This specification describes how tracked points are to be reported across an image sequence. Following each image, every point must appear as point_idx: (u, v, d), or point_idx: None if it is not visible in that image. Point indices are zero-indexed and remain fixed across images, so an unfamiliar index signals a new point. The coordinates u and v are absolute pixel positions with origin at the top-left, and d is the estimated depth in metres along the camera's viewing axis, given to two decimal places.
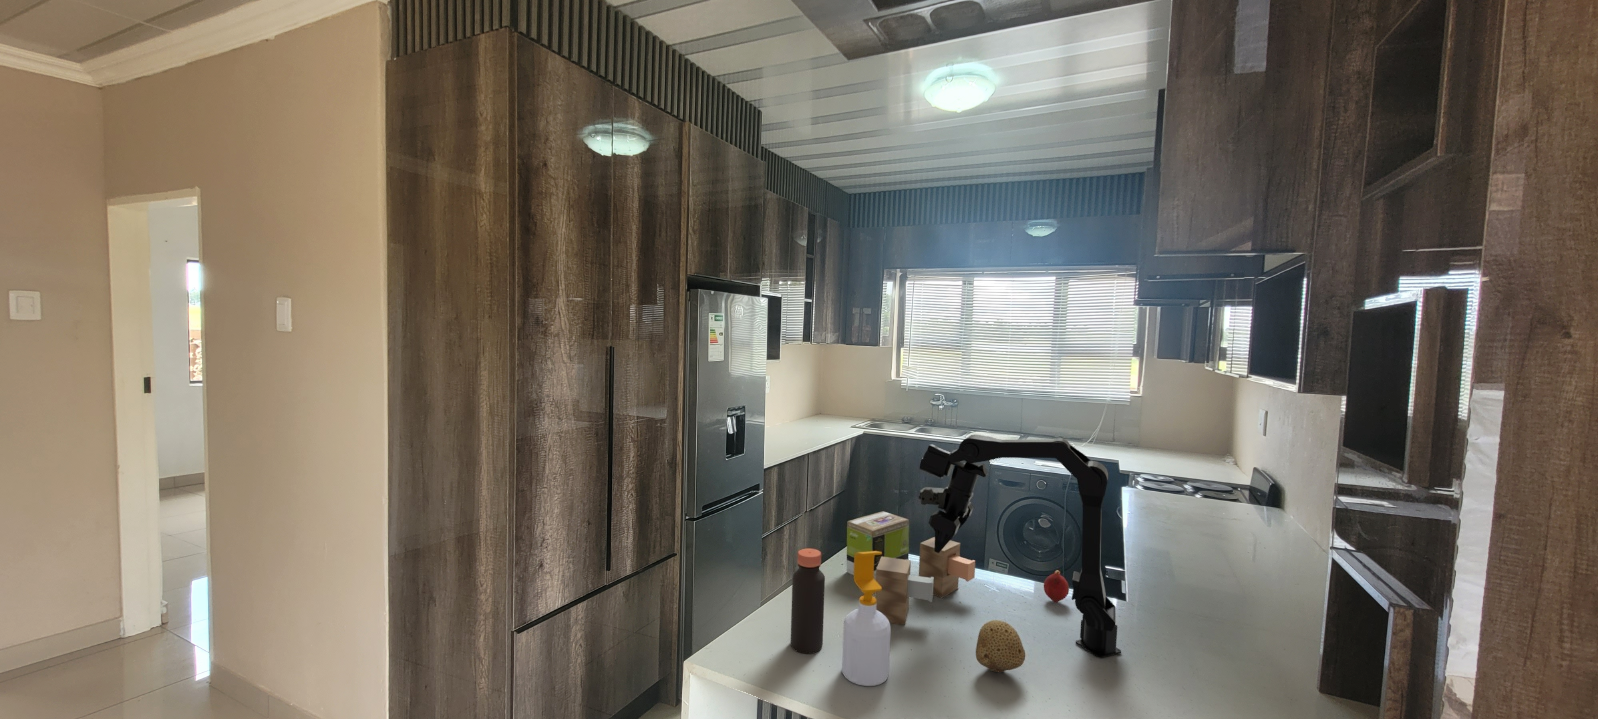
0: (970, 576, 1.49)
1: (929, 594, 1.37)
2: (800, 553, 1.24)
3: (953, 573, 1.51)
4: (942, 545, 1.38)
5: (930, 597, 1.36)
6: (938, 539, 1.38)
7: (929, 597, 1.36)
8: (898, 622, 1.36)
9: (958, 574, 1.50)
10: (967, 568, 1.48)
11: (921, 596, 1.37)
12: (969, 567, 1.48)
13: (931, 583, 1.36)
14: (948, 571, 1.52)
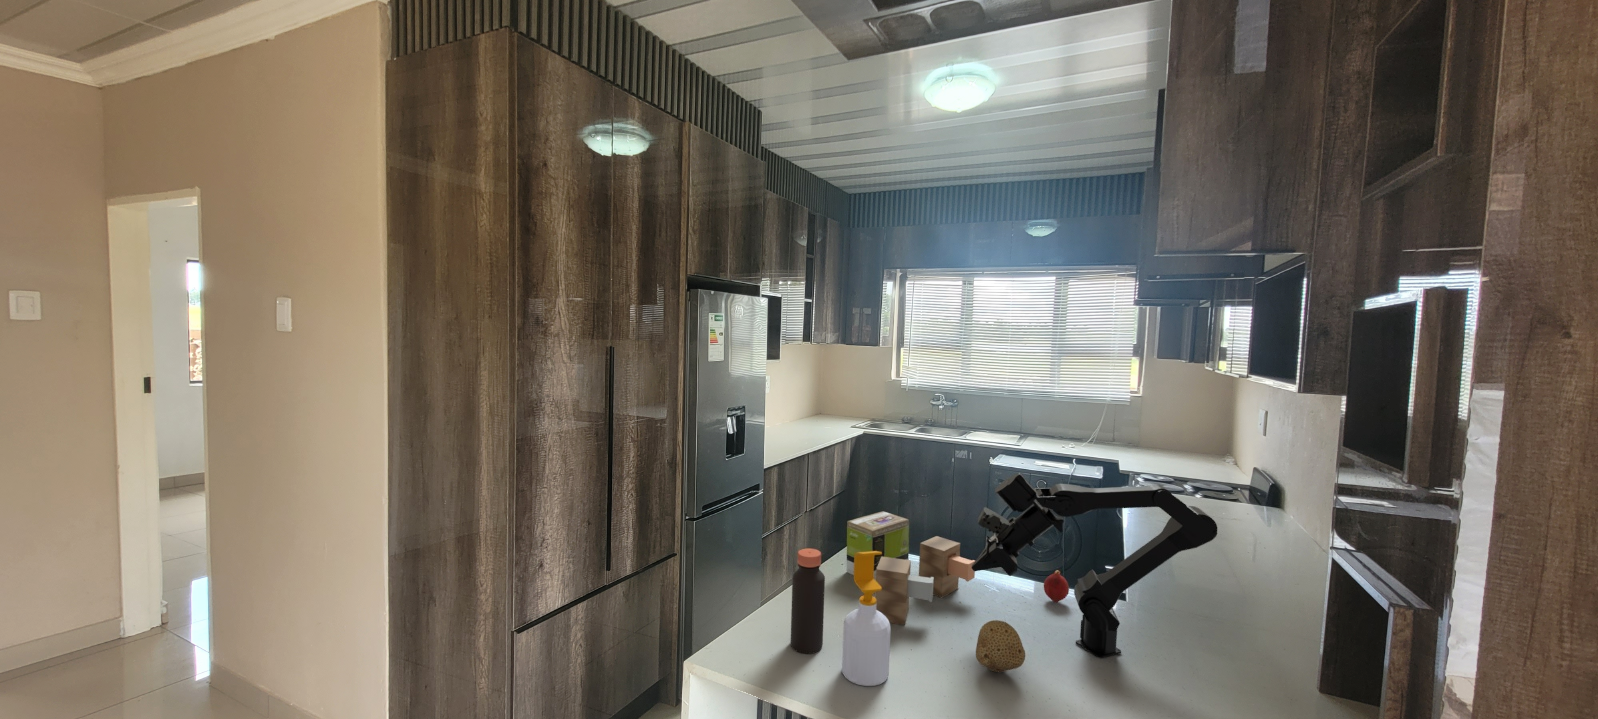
0: (970, 576, 1.49)
1: (929, 594, 1.37)
2: (800, 553, 1.24)
3: (953, 573, 1.51)
4: (984, 567, 1.33)
5: (930, 597, 1.36)
6: (984, 561, 1.33)
7: (929, 597, 1.36)
8: (898, 622, 1.36)
9: (958, 574, 1.50)
10: (967, 568, 1.48)
11: (921, 596, 1.37)
12: (969, 567, 1.48)
13: (931, 583, 1.36)
14: (948, 571, 1.52)
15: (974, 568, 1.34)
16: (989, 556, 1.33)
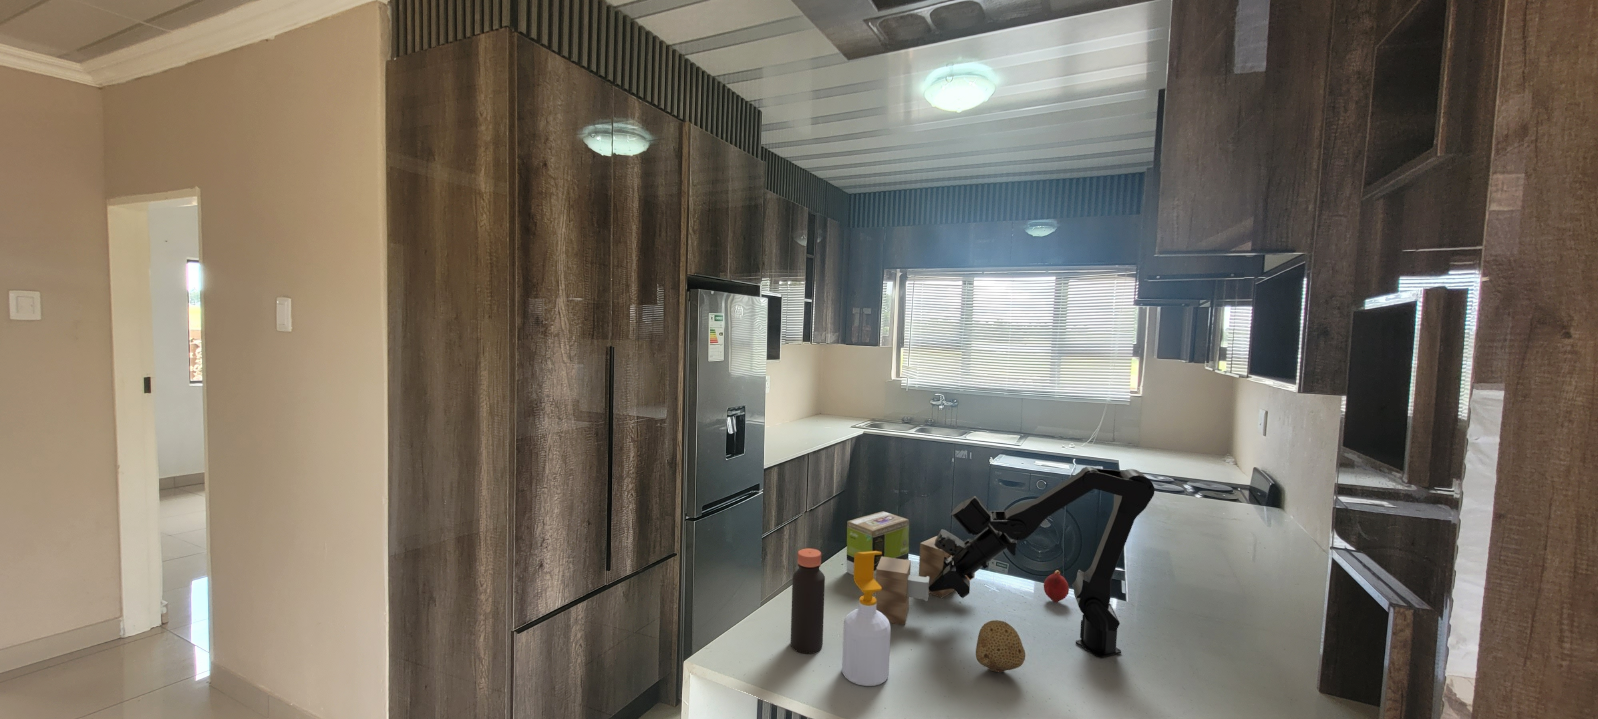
0: None
1: (925, 593, 1.37)
2: (800, 553, 1.24)
3: None
4: (940, 588, 1.36)
5: (926, 596, 1.37)
6: (940, 581, 1.36)
7: (925, 596, 1.37)
8: (898, 622, 1.36)
9: None
10: None
11: (917, 595, 1.37)
12: None
13: (927, 582, 1.36)
14: None
15: (931, 589, 1.37)
16: (945, 577, 1.35)
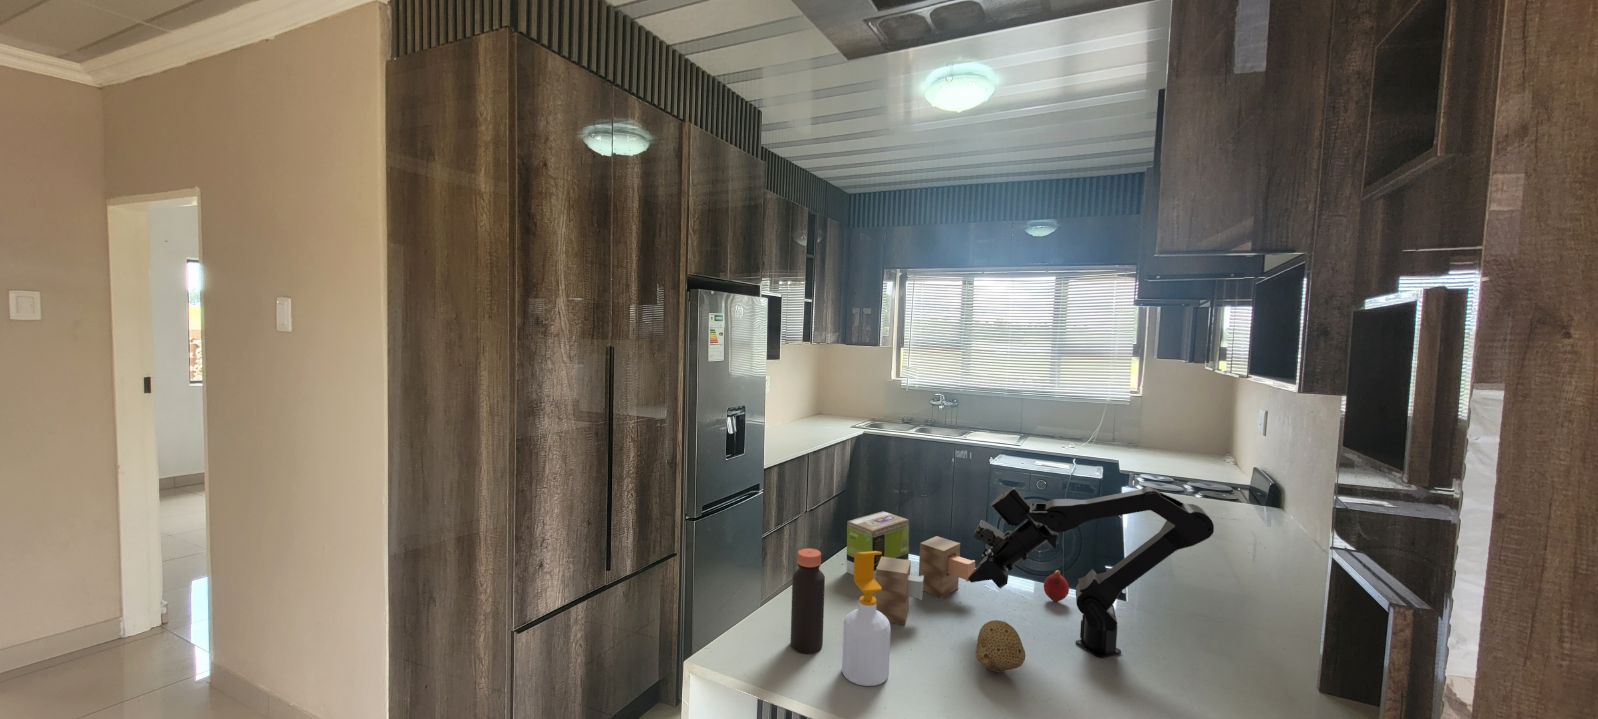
0: None
1: (919, 592, 1.37)
2: (800, 553, 1.24)
3: (953, 573, 1.51)
4: (979, 579, 1.36)
5: (920, 595, 1.37)
6: (979, 572, 1.36)
7: (919, 595, 1.37)
8: (898, 622, 1.36)
9: (958, 574, 1.50)
10: (967, 568, 1.48)
11: (911, 594, 1.38)
12: (969, 567, 1.48)
13: (921, 582, 1.37)
14: (948, 571, 1.52)
15: (970, 579, 1.38)
16: None
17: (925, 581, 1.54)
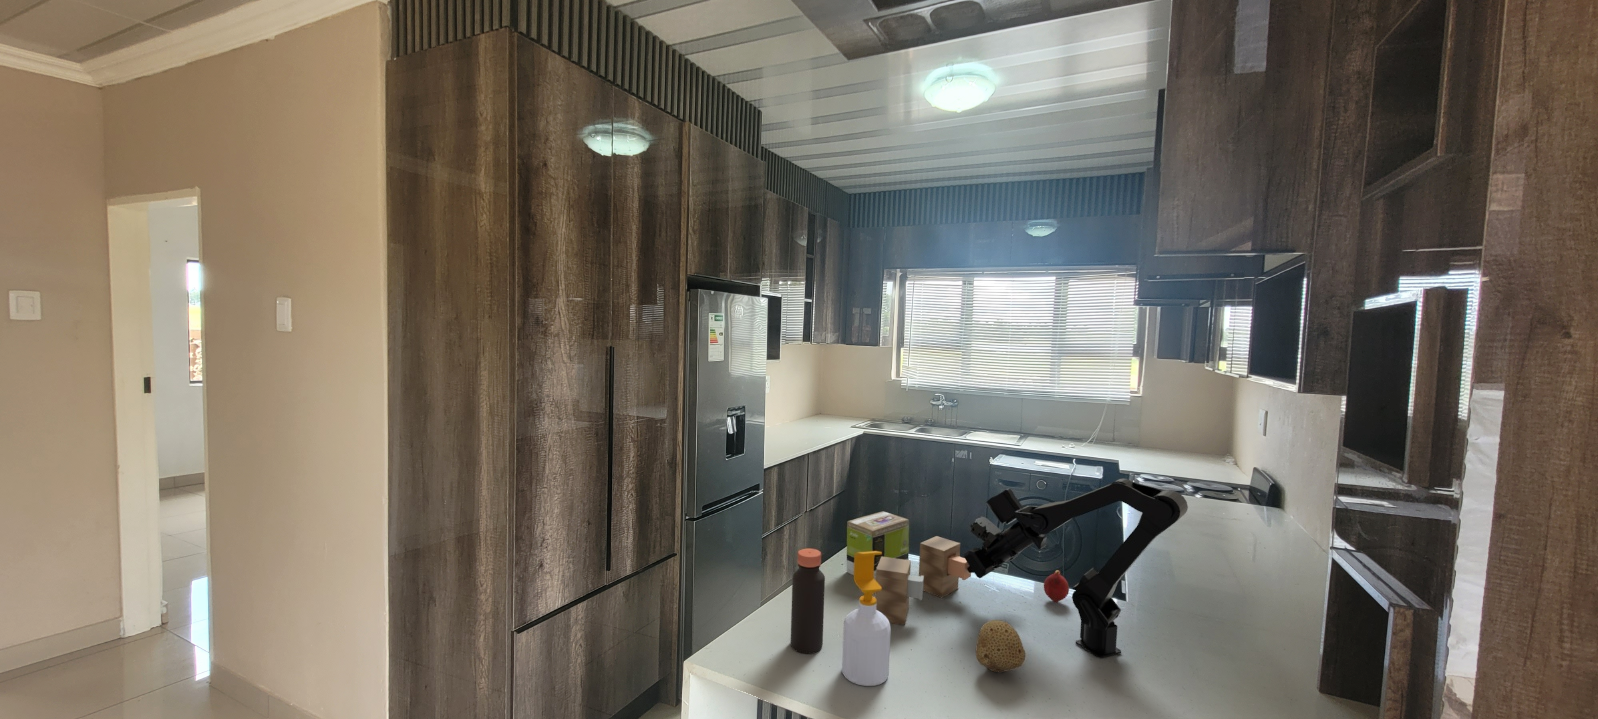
0: (966, 575, 1.49)
1: (919, 592, 1.37)
2: (800, 553, 1.24)
3: (949, 572, 1.51)
4: None
5: (920, 595, 1.37)
6: None
7: (919, 595, 1.37)
8: (898, 622, 1.36)
9: (954, 573, 1.50)
10: (963, 567, 1.49)
11: (911, 594, 1.38)
12: (965, 566, 1.49)
13: (921, 582, 1.37)
14: None
15: (969, 570, 1.49)
16: None
17: (925, 581, 1.54)
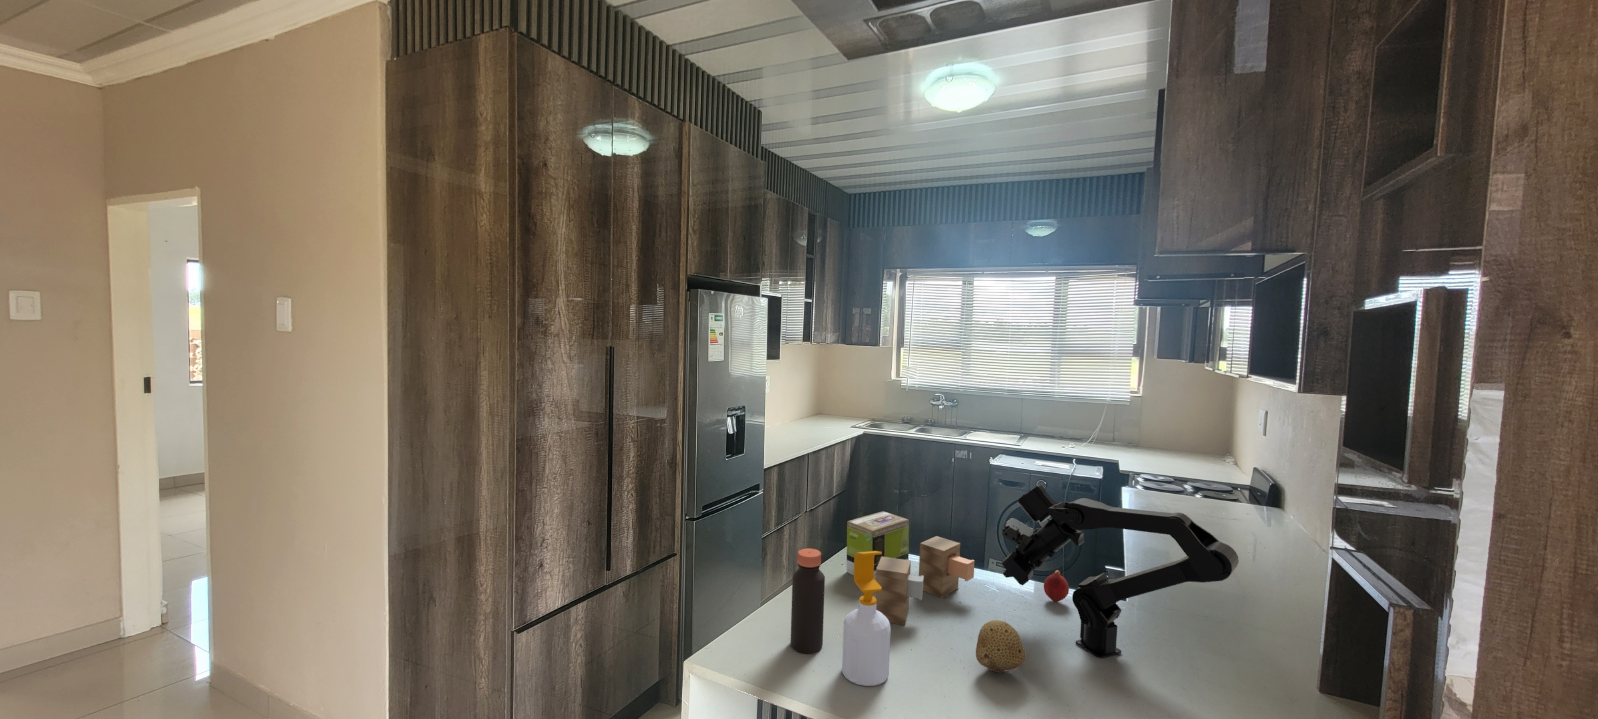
0: (969, 576, 1.49)
1: (919, 592, 1.37)
2: (800, 553, 1.24)
3: (952, 573, 1.51)
4: None
5: (920, 595, 1.37)
6: None
7: (919, 595, 1.37)
8: (898, 622, 1.36)
9: (957, 574, 1.50)
10: (966, 568, 1.48)
11: (911, 594, 1.38)
12: (968, 567, 1.48)
13: (921, 582, 1.37)
14: (947, 571, 1.52)
15: (1005, 574, 1.43)
16: None
17: (925, 581, 1.54)
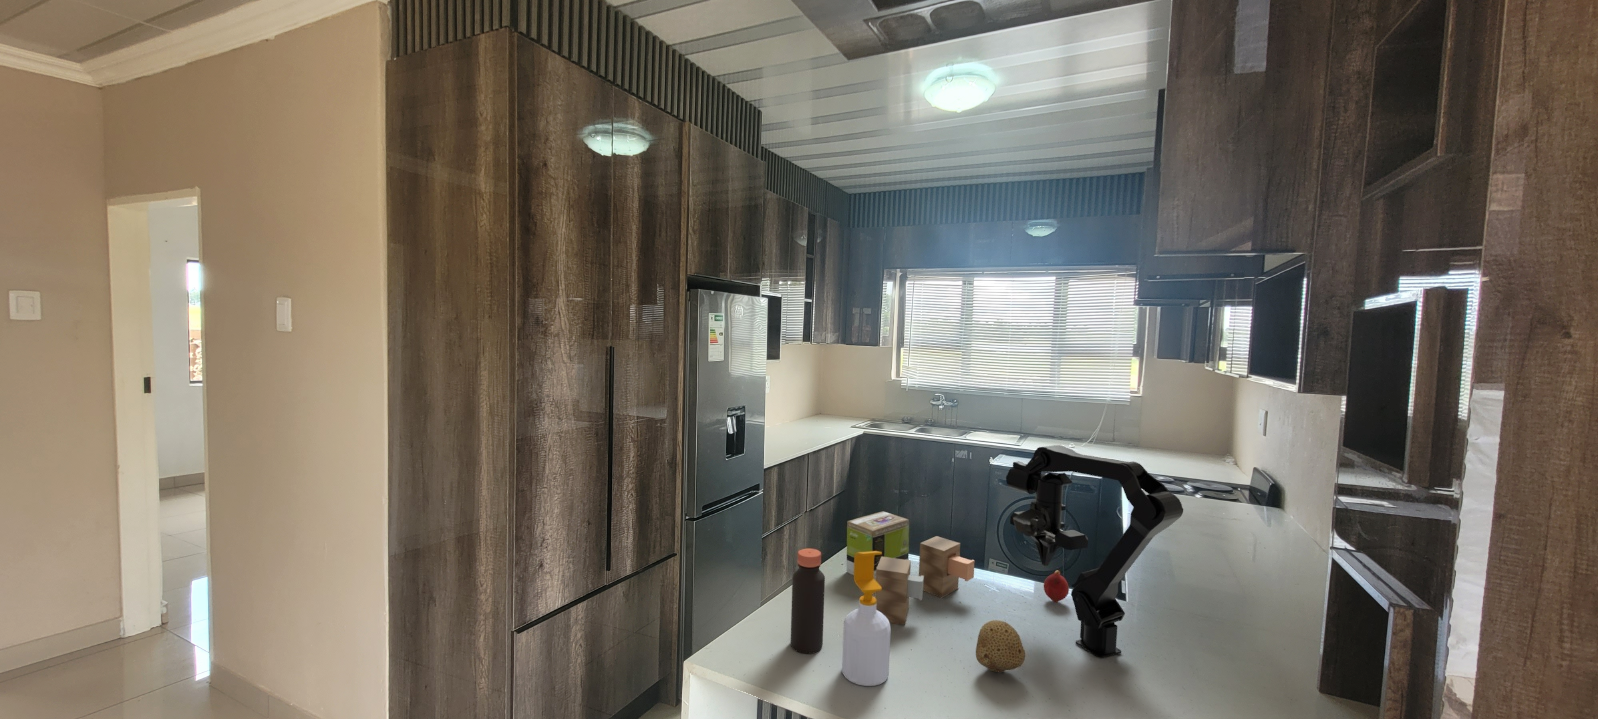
0: (969, 576, 1.49)
1: (919, 592, 1.37)
2: (800, 553, 1.24)
3: (952, 573, 1.51)
4: (1052, 556, 1.39)
5: (920, 595, 1.37)
6: (1049, 552, 1.38)
7: (919, 595, 1.37)
8: (898, 622, 1.36)
9: (957, 574, 1.50)
10: (966, 568, 1.48)
11: (911, 594, 1.38)
12: (968, 567, 1.48)
13: (921, 582, 1.37)
14: (947, 571, 1.52)
15: (1046, 563, 1.39)
16: (1049, 545, 1.38)
17: (925, 581, 1.54)
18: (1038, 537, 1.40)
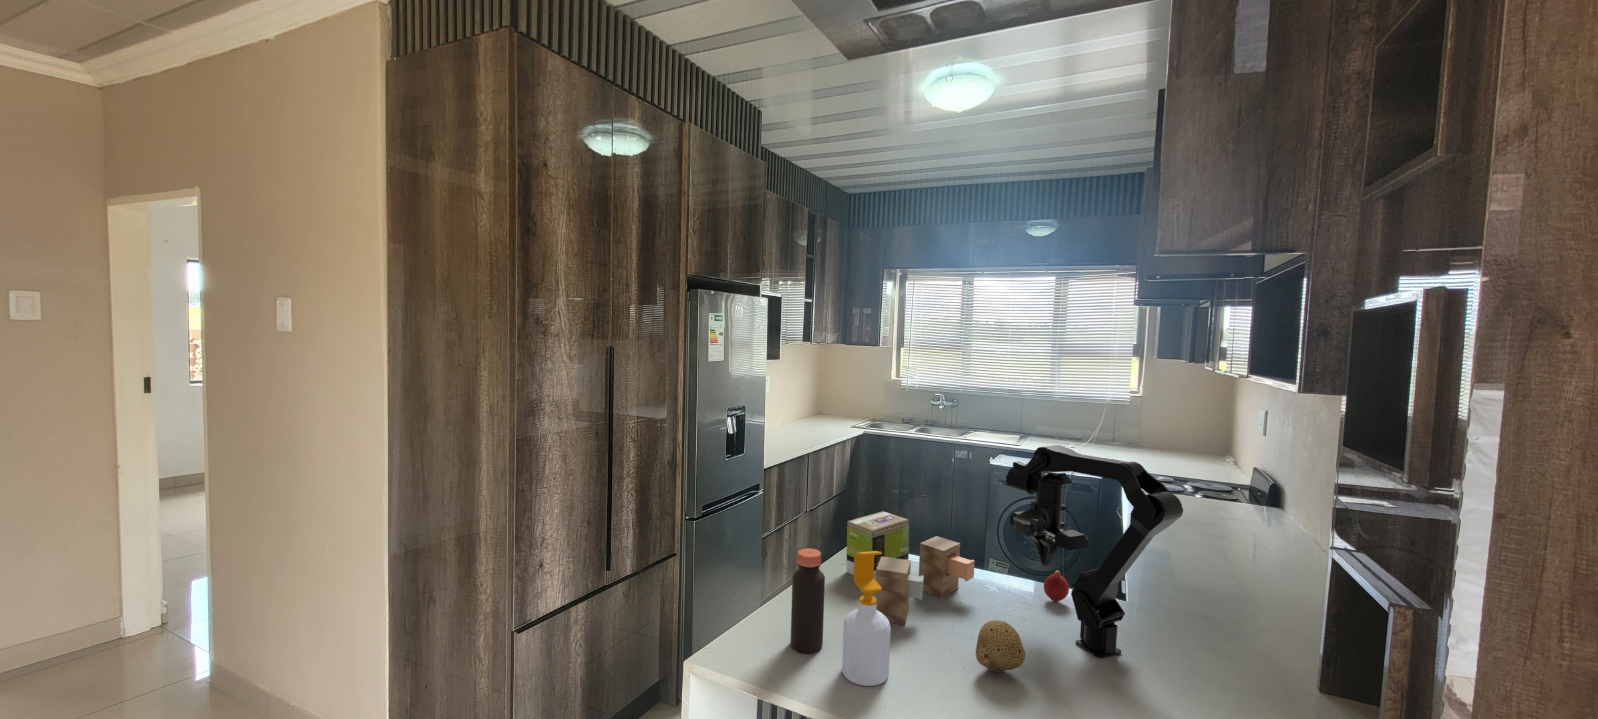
0: (969, 576, 1.49)
1: (919, 592, 1.37)
2: (800, 553, 1.24)
3: (952, 573, 1.51)
4: (1052, 556, 1.39)
5: (920, 595, 1.37)
6: (1049, 552, 1.38)
7: (919, 595, 1.37)
8: (898, 622, 1.36)
9: (957, 574, 1.50)
10: (966, 568, 1.48)
11: (911, 594, 1.38)
12: (968, 567, 1.48)
13: (921, 582, 1.37)
14: (947, 571, 1.52)
15: (1046, 563, 1.39)
16: (1049, 545, 1.38)
17: (925, 581, 1.54)
18: (1038, 537, 1.40)
